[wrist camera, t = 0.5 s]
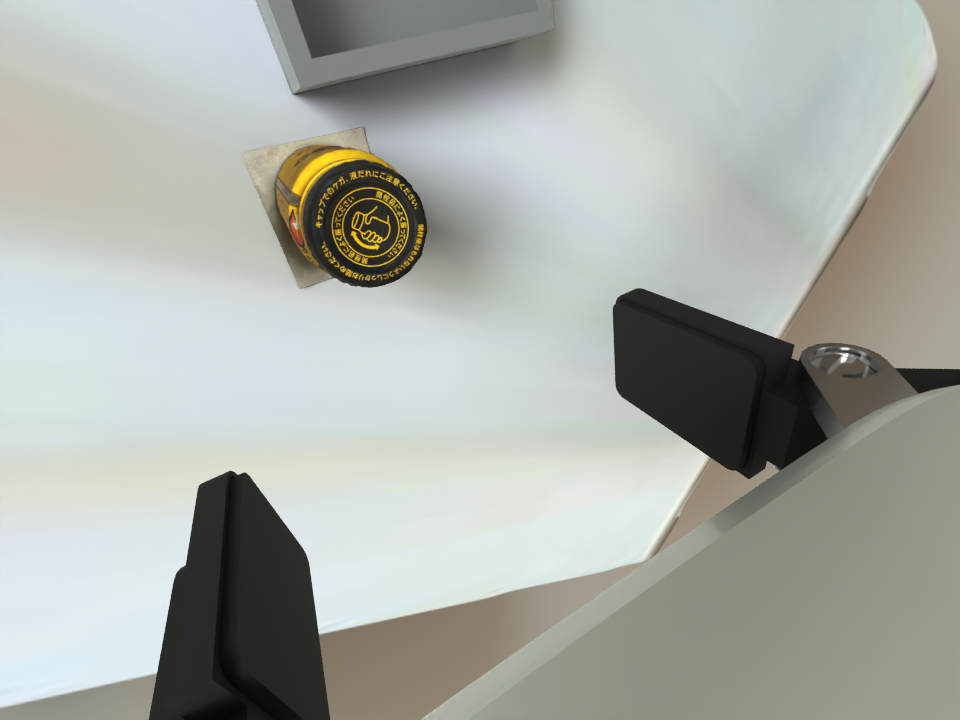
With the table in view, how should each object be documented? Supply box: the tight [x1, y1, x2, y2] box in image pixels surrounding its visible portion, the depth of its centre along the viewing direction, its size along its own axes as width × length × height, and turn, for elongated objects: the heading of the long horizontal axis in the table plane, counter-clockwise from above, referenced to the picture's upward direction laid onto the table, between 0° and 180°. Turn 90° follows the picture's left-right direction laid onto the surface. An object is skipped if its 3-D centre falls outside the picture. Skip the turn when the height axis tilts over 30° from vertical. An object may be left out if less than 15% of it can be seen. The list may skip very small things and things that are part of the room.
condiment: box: [241, 127, 427, 289], centre depth 23 cm, size 7×8×12 cm
